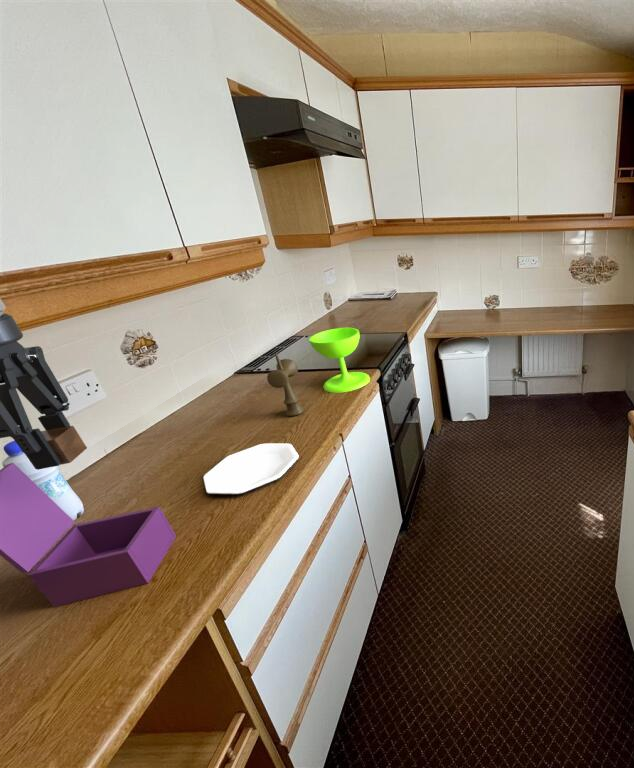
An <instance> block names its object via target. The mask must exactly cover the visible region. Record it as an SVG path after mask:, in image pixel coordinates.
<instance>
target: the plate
mask: <svg viewBox="0 0 634 768" xmlns="http://www.w3.org/2000/svg"><path fill="white" fill-rule="evenodd" d="M299 457H300V455H299V454H298V452H297V451H296V449H295V447H294V446H293V444H291V443H289V442H288V443H281V442H280V443H277V442H276V443H273V442H272V443H270V442H269V443H260V444H257V445H254V446H251V447H249V448H246V449H243V450H240V451H237V452H235V453H232V454H229V455H228V456H225V458H223V459H222V460H221V461H219V462H218V463H217V464H216V465H215V466H213V467H212V468H211V469H210V470H209V471H207V472H206V473H205V474H204V476H203V477H202V478H203V482H204V483H203V484H204V488H205V491H206V493H207V494H208V495H237V496H239V495H243V494H246V493H248V492H251V491H253V490H256V489H258V488H261V487H263V486H265V485H268V484H270V483H272V482H275V481H277V480H279V479H281V478H282V477H283V476H284V475H285V474H286V473H287V472H288V471H289V470H290V469H291V467H293V466H294V465H295V463H296V462H297V461H298V460H299Z"/></svg>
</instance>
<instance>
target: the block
mask: <svg viewBox="0 0 634 768" xmlns="http://www.w3.org/2000/svg"><path fill="white" fill-rule="evenodd" d="M40 431H41V432H42V434H43V435H44V437H45V438H46V440H47V442H48V443H49V445H50V446H51V448H52V449H53V451H54V452H55V454H56V455H57V457H58V458H59V460H60V461H61V464H60V465H59V466H61V465H67V464H70V463H72V462H73V461H74V460H75V459H77V458H78V457H79V456H80V455H81V454H82V453H83V452H84V451H86V450H87V448H88V446H87V445H86V444H85V442H84V441H83V439H82V437H81V436H80V434H79V433H78V431H77V429H76V428H75V426H74V425H70V426H68V427H63V428H57V429H51V430H45V429H44V430H40ZM24 454H25V453H24ZM25 455H26V456H27V458H28V459H29V461H30V462H31V463H32V461H31V460H30V458H29V457H28V455H27V454H25ZM32 465H33V466H34V468H35V469H37V468H36V467H35V465H34V464H33V463H32Z"/></svg>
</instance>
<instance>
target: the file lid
mask: <svg viewBox="0 0 634 768" xmlns="http://www.w3.org/2000/svg"><path fill="white" fill-rule="evenodd" d="M75 523H76V520H72V519H71V518H70V517H69V516H68V515H67V514H66V513H65V512H64V511H63V510H62V509H61V508H60V507H59V506H58V505H57V504H56V503H55V502H54V501H53V500H52V499H51V498H49V497H48V496H47V495H46V494H45V493H44V492H43V491H42V490H41V489H40V488H39V487H38V486H37V485H36V484H35V483H34V482H33V481H32V480H31V479H30V478H29V477H28V476H27V475H25V474H24V473H23V472H22V471H21V470H20V469H19V468H18V467H17V466H16V465H15V464H14V463H10V464H8V465H6V466H5V467H2V468H1V469H0V557H2V559H4V560H5V561H7V562H8V563H9V565H12V566H13V567H14V568H15V569H17V570H18V572H20V573H21V574H27V573H30V572H31V571H32V570H33V569H34V568H35V567H36V565H37V564H38V563H39V562H40V561H41V560H42V559H43V558H44V557H45V556H46V555H47V554H48V553H49V552H50V550H51V549H52V548H53V547H54V546H55V545H56V544H57V543H58V542H59V541H60V540H61V539H62V538H63V536H64V535H65V534H66V533H67V532H68V531H69V530H70V529H71V528H72V527H73V526H74V525H75Z"/></svg>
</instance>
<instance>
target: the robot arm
mask: <svg viewBox="0 0 634 768" xmlns="http://www.w3.org/2000/svg"><path fill="white" fill-rule="evenodd" d="M6 309H7V306H6V305H5V303H4V302H3V300H2V299H1V298H0V439H5V438H11V439H13V441H15V442H16V443H17V445H18V446H19V447H20V449H21V450H22V452H23V453H25V454H27V455H28V457H29V458H30V460H31V461H32V463H33V464H34V465H35V467H36V468H37V470H39V469H44V468H49V467H55V466H58V467H59V466H61V465H60V464H61V461H60V460H59V458H58V457H57V455H56V454H55V452H54V451H53V449H52V448H51V446H50V445H49V443H48V442H47V440H46V438H45V437H44V435H43V434H42V432H41V431H42V430H41V429H40V428H39V427H38V428H37V427H36V428H33V426H32V424H31V422H30V419H29V416H28V415H27V412H26V410H25V407H24V405H23V402H22V400H21V398H20V395H19V393H20V394H21V395H22V396H23V397H24V398H25V399H26V400H27V401H28V402H29V403H30V404H31V405H32V406H33V407H34V408H35V410H37V411H38V413H39V414H41V415H40V416H39V417H37V419H38V421H39V422H40V424H41V426H42V427H43V428H44V431H45V430H51V429H57V428H63V427H68V426H71V424H70V422H69V421H68V418H67V417H66V416H65V414H64V412H65V411H69V409H70V406H69V404H67V403H69V398H68V396H67V394H66V393H65V391H64V389H63V388H62V386H61V384H60V383H59V381H58V380H57V377H56V376H55V374H54V372H53V371H52V368H51V367H50V366H49V364H48V363H47V361H46V358H45V354H44V351H43V348H42V347H41V346H39V345H35V346H29V347H24V346H23V345H22V344H21V343H20V342H19V341H20V340H22V338H23V337H24V334H23V332H22V330H21V329H20V327H19V326H18V324H17V322H16V321H15V319H14V317H13V316H12V314H11V315H10V314H9V313H3V312H5V310H6ZM17 390H18V391H17ZM18 392H19V393H18Z"/></svg>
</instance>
